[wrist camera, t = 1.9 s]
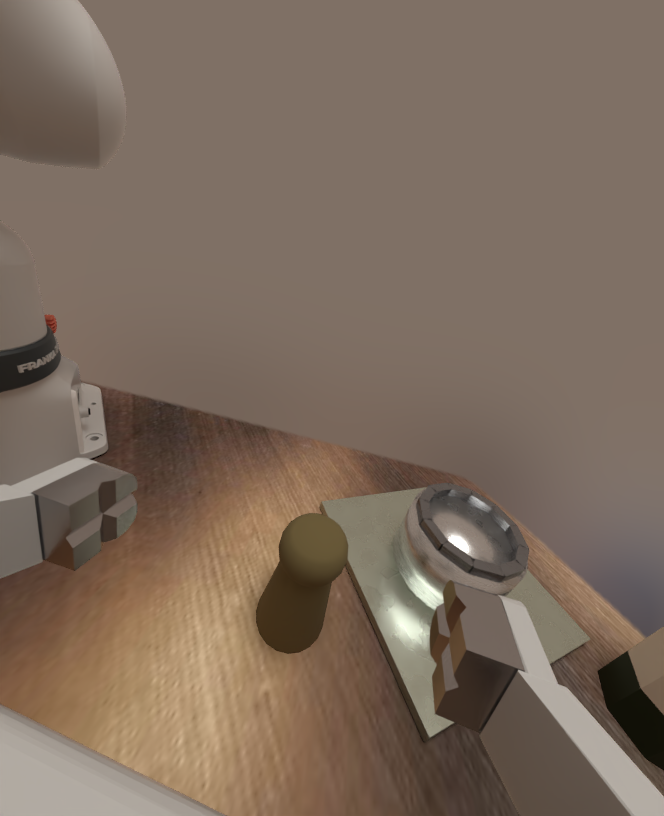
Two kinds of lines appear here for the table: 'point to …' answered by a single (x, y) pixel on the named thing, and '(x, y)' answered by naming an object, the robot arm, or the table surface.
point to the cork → (301, 582)
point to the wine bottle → (639, 695)
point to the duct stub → (438, 576)
